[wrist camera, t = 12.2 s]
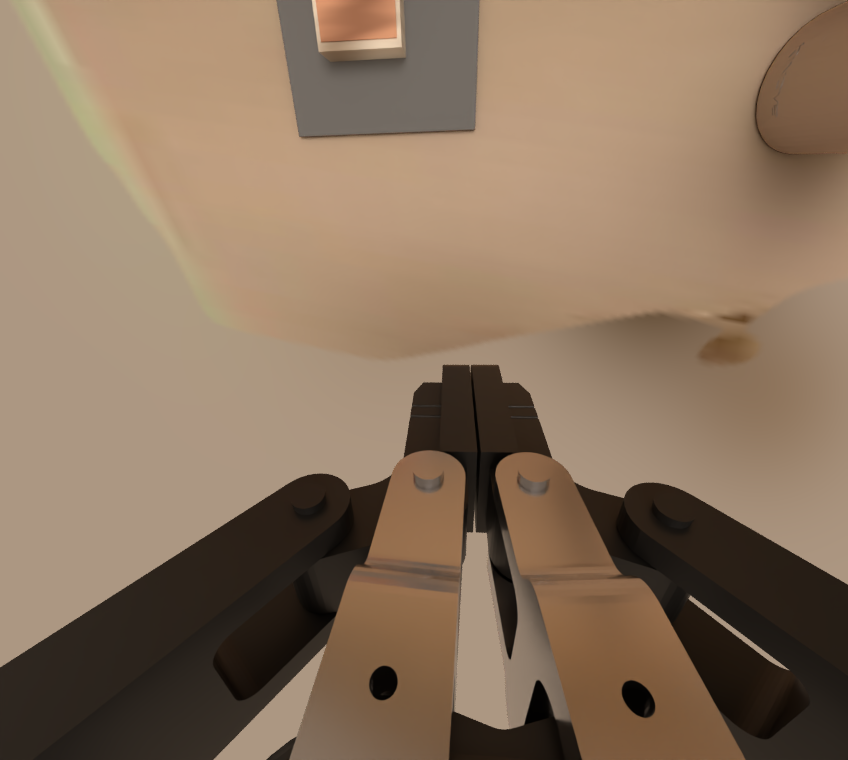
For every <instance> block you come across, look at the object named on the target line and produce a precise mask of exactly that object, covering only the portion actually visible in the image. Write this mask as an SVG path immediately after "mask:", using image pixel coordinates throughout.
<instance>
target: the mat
mask: <svg viewBox="0 0 848 760" xmlns="http://www.w3.org/2000/svg"><path fill="white" fill-rule="evenodd" d="M277 6H278V12H279V18H280V24H281V30H282V36H283V42H284V48H285V54H286V60H287V66H288V72H289V78H290V84H291V90H292V96H293V102H294V108H295V114H296V120H297V126H298V132H299V137H312V136H337V135H361V134H386V133H410V132H435V131H459V130H475V115H476V85H477V55H478V24H479V0H404V18H405V42H406V58H391V59H373V60H355V61H337V62H330V61H329V60H328V59H326V58H325V57H324V56H323V55H322V54H321V53H319V51H318V43H317V36H316V28H315V21H314V13H313V6H312V0H277Z"/></svg>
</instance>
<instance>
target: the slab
mask: <svg viewBox="0 0 848 760" xmlns="http://www.w3.org/2000/svg"><path fill="white" fill-rule="evenodd" d="M312 6H313V13H314V21H315V28H316V36H317V43H318V51H319V53H321V54H322V55H323V56H324V57H325V58H326V59H328V60H329V61H330V62H337V61H355V60H373V59H391V58H406V42H405V18H404V0H312Z"/></svg>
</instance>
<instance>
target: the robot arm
mask: <svg viewBox="0 0 848 760" xmlns="http://www.w3.org/2000/svg"><path fill="white" fill-rule="evenodd" d="M756 117H757V124H758V129H759V131H760V134H761V136H762V138H763V140H764V141H765V142H766V143H767V144H768V145H769V146H770V147H771V148H773V149H775V150H777V151H779V152H782V153H787V154H825V153H848V1H847V2H845V3H843V4H840V5H838V6H835V7H833V8H832V9H830V10H828V11H826V12H824V13H822V14H820V15H818V16H817V17H816V18H814V19H813V20H811V21H810V22H809V23H807V24H806V25H805V26H803V27H802V28H801V29H800V30H799V31H798V32H797V33H796V34H795V35H794V36H793V37H792V38H791V39H790V40H789V41H788V43H787V44H786V45H785V46H784V48H783V49H782V50H781V51H780V53H779V54H778V55H777V57H776V58H775V60H774V62H773V63H772V65H771V67H770V68H769V70H768V72H767V74H766V77H765V79H764V81H763V84H762V86H761V89H760V93H759V97H758V101H757V114H756ZM474 512H475V526H476V532H482V533H483V532H484V533H487V538H488V560H487V569H488V575H489V581H490V587H491V593H492V599H493V605H494V611H495V616H496V622H497V628H498V634H499V640H500V646H501V652H502V657H503V664H504V671H505V689H506V690H505V691H506V705H507V715H508V722H509V729H507V730H501V729H496V728H493V727H491V726H488V725H486V724H483V723H481V722H478V721H476V720H473V719H471V718H469V717H466V716H464V715H461V714H459V713H456V712H455V700H456V678H457V657H458V656H457V655H458V638H459V619H460V600H461V580H462V564H463V562H464V559H465V556H466V537H467V535H466V534H467V532H473V521H474ZM690 595H691V596H692V597H694V598H695V599H696V600H698V601H699V602H700V603H702V604H703V605H704V606H706V607H707V608H708V609H710V610H711V611H712V612H714V613H715V614H716V615H718V616H719V617H720V618H721V619H723V620H724V621H726V622H727V623H728V624H729V625H731V626H732V627H733V628H735V629H736V630H737V631H739V632H740V633H741V634H743V635H744V636H745V637H747V638H748V639H750V640H751V641H752V642H753V643H755V644H756V645H757V646H759V647H760V648H761V649H763V650H764V651H765V652H766V653H768V654H769V655H770V656H772V657H773V658H774V659H776V660H777V661H778V662H780V663H781V664H782V665H784V666H785V667H786V668H787V669H789V670H790V671H789V670H786V669H783V668H781V667H779V666H777V665H775V664H773V663H771V662H770V661H768V660H767V659H766V658H764V657H763V656H762V655H760V654H759V653H758V652H756V651H755V650H754V649H753V648H751V647H750V646H749V645H747V644H746V643H745V642H743V641H742V640H741V639H739V638H738V637H737V636H735V635H734V634H733V633H732V632H730V631H729V630H728V629H726V628H725V627H724V626H723V625H721V624H720V623H719V622H717V621H716V620H715V619H713V618H712V617H711V616H709V615H708V614H707V613H706V612H704V611H703V610H701V609H700V608H699V607H698V606H696V605H695V604H694V603H693V602H691V601H690V600H689V599H688V598H689V597H690ZM326 644H327V645H326ZM325 645H326V648H325V651H324V655H323V657H322V661H321V664H320V667H319V670H318V673H317V676H316V679H315V682H314V685H313V688H312V691H311V695H310V697H309V701H308V704H307V707H306V710H305V713H304V716H303V719H302V722H301V725H300V728H299V731H298V735H297V737H295V738H293V739H292V740H290V741H289V742H288V743H286V744H285V745H284V746H282V747H281V748H280V749H279V750H277V751H276V752H275V753H274V754H272V755H271V756H270V757H269V758H268V759H267V760H848V585H847V584H845V583H844V582H842V581H840V580H839V579H837V578H835V577H833V576H832V575H830V574H828V573H827V572H825V571H823V570H821V569H819V568H818V567H816V566H814V565H813V564H811V563H809V562H807V561H806V560H804V559H802V558H800V557H799V556H797V555H795V554H793V553H792V552H790V551H788V550H787V549H785V548H783V547H781V546H779V545H778V544H776V543H774V542H772V541H771V540H769V539H767V538H766V537H764V536H762V535H760V534H759V533H757V532H755V531H753V530H752V529H750V528H748V527H746V526H745V525H743V524H741V523H739V522H738V521H736V520H734V519H733V518H731V517H729V516H727V515H726V514H724V513H722V512H720V511H719V510H717V509H715V508H713V507H712V506H710V505H708V504H706V503H705V502H703V501H701V500H699V499H698V498H696V497H694V496H692V495H691V494H689V493H686V492H685V491H683V490H680V489H678V488H675V487H672V486H669V485H665V484H660V483H641V484H638V485H635V486H633V487H631V488H630V489H629V490H628V491H627V492H626V494H625V497H624V498H621V497H617V496H613V495H609V494H606V493H602V492H597V491H594V490H591V489H588V488H585V487H583V486H581V485H578V484H576V483H575V482H574V481H573V479H572V477H571V475H570V474H569V472H568V471H567V470H566V469H565V468H564V467H563V466H562V465H561V464H560V463H558V462H557V461H555V460H554V459H552V456H551V454H550V450H549V448H548V445H547V442H546V439H545V436H544V433H543V430H542V427H541V424H540V422H539V419H538V416H537V413H536V410H535V408H534V404H533V401H532V398H531V395H530V393H529V392H527V391H526V390H525V389H524V388H523V387H522V386H521V385H520V384H519V383H503V382H502V377H501V373H500V369H499V366H498V365H471V373H470V367H469V365H443V373H442V383H423V384H422V385H421V386H420V387H419V388H418V389H417V390H416V391H415V392H414V396H413V403H412V409H411V418H410V421H409V428H408V435H407V441H406V446H405V453H404V458H403V459H401V460H400V461H399V462H398V463H397V465H396V466H395V468H394V470H393V472H392V475H391V476H390V477H388V478H386V479H385V480H383V481H381V482H378V483H376V484H372V485H368V486H364V487H360V488H355V489H351V490H349V489H348V486H347V485H346V483H345V482H344V481H343V480H341V479H340V478H338V477H335V476H333V475H329V474H312V475H307V476H304V477H301V478H298V479H296V480H294V481H292V482H290V483H289V484H287V485H285V486H284V487H282V488H281V489H279V490H278V491H276V492H275V493H273V494H271V495H270V496H268V497H267V498H265V499H264V500H262V501H260V502H259V503H257V504H256V505H254V506H253V507H251V508H249V509H248V510H246V511H245V512H243V513H242V514H240V515H238V516H237V517H235V518H234V519H232V520H231V521H229V522H227V523H226V524H224V525H223V526H221V527H220V528H218V529H217V530H215V531H213V532H212V533H210V534H209V535H207V536H206V537H204V538H202V539H201V540H199V541H198V542H196V543H195V544H193V545H191V546H190V547H188V548H187V549H185V550H184V551H182V552H180V553H179V554H177V555H176V556H174V557H173V558H171V559H169V560H168V561H166V562H165V563H163V564H162V565H160V566H159V567H157V568H155V569H154V570H152V571H151V572H149V573H148V574H146V575H144V576H143V577H141V578H140V579H138V580H137V581H135V582H133V583H132V584H130V585H129V586H127V587H126V588H124V589H122V590H121V591H119V592H118V593H116V594H115V595H113V596H112V597H110V598H108V599H107V600H105V601H104V602H102V603H101V604H99V605H97V606H96V607H94V608H93V609H91V610H90V611H88V612H86V613H85V614H83V615H82V616H80V617H79V618H77V619H75V620H74V621H72V622H71V623H69V624H68V625H66V626H64V627H63V628H61V629H60V630H58V631H57V632H55V633H53V634H52V635H50V636H49V637H47V638H46V639H44V640H43V641H41V642H39V643H38V644H36V645H35V646H33V647H32V648H30V649H28V650H27V651H25V652H24V653H22V654H21V655H19V656H18V657H16V658H14V659H13V660H11V661H10V662H8V663H7V664H5V665H3V666H2V667H0V760H213V759H214V758H215V757H216V756H217V755H218V754H219V753H220V752H221V751H222V750H223V749H224V748H225V747H226V746H227V745H228V744H229V743H230V742H231V741H232V740H233V739H234V738H235V737H236V736H237V735H238V734H239V733H240V732H241V731H242V730H243V729H244V728H245V727H246V726H247V725H248V724H249V723H250V722H251V720H252V719H253V718H255V716H256V715H257V714H258V713H259V712H260V711H261V710H262V709H263V708H264V707H265V706H266V705H267V704H268V703H269V702H270V701H271V700H272V699H273V698H274V697H275V696H276V695H277V694H278V693H279V692H280V691H281V690H282V689H283V688H284V687H285V686H286V685H287V684H288V683H289V682H290V681H291V680H292V679H293V678H294V677H295V676H296V675H297V673H299V672H300V671H301V669H303V667H304V666H305V665H306V664H307V663H308V662H309V661H310V660H311V659H312V658H313V657H314V656H315V655H316V654H317V653H318V652H319V651H320V650H321V649H322V648H323V647H324V646H325Z"/></svg>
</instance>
